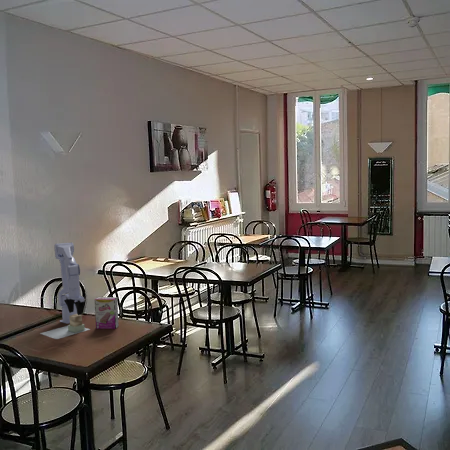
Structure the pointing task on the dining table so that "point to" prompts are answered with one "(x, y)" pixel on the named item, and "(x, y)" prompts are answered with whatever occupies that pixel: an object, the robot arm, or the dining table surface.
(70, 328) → the sage base block
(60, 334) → the mat
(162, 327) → the dining table surface
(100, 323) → the candy bar box
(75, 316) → the maple block
